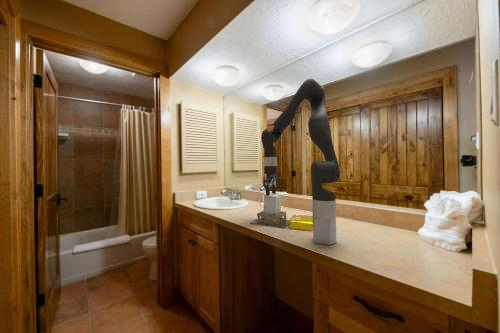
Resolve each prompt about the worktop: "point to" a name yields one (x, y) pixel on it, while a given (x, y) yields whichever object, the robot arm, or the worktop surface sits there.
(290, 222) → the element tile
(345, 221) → the worktop surface
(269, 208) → the skincare box
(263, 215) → the collar guide
